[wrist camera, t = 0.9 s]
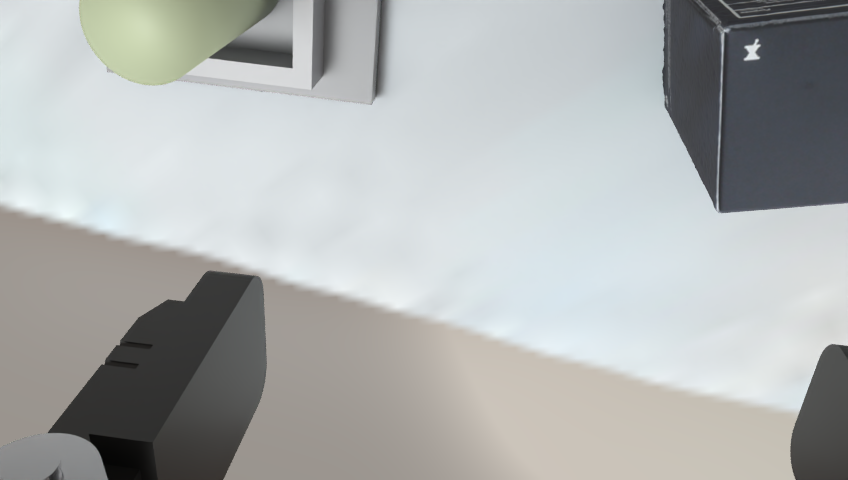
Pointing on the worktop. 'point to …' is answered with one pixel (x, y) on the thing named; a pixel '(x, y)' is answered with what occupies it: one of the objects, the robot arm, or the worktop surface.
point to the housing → (302, 52)
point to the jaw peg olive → (164, 33)
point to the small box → (761, 98)
